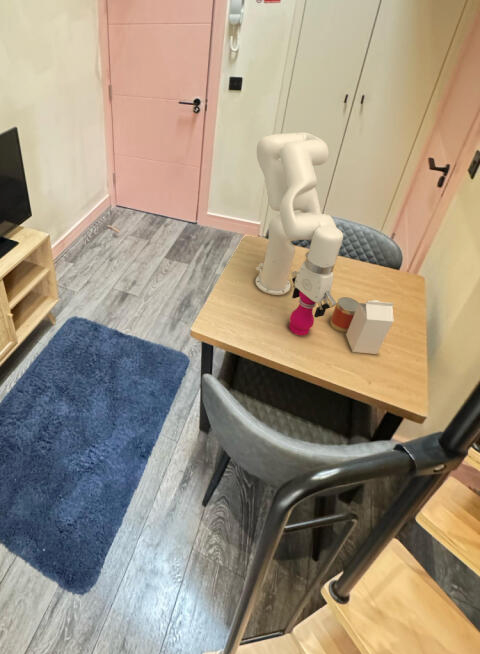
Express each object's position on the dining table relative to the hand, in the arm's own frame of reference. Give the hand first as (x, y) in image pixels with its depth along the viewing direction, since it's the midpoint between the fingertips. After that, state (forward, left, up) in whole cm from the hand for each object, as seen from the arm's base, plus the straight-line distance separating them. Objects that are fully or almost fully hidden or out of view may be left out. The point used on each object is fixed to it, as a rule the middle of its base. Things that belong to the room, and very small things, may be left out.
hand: (307, 306), depth 130 cm
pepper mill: (-1, 0, -12) cm, 11 cm away
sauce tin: (+3, +14, -11) cm, 18 cm away
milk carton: (+12, +13, -12) cm, 21 cm away
